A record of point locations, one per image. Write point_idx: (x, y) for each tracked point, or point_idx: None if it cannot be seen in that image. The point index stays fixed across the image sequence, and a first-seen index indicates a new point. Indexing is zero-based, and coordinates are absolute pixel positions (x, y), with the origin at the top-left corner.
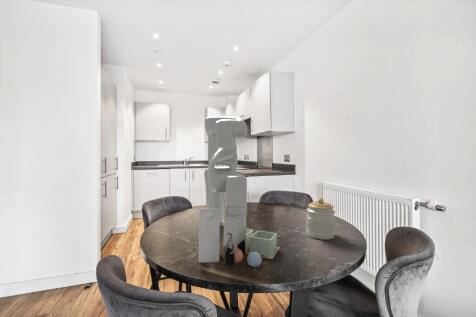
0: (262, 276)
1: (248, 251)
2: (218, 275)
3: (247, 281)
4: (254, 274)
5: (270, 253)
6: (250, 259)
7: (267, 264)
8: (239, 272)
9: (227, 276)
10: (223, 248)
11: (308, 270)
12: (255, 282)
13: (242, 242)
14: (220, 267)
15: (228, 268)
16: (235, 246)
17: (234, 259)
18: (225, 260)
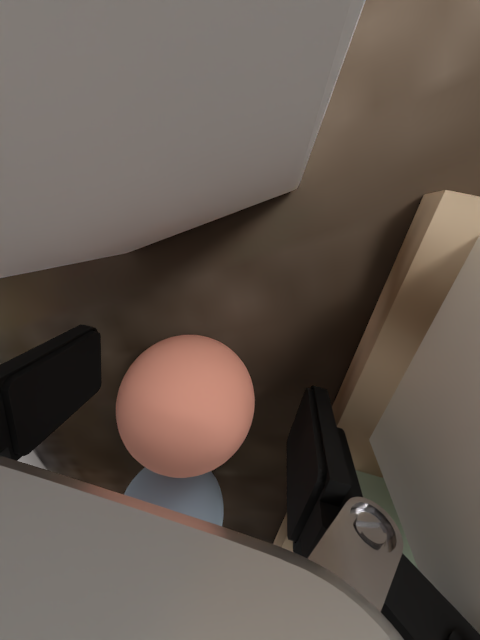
0: (118, 492)
1: (374, 459)
2: (15, 288)
3: (49, 438)
4: (119, 464)
5: None
6: None
7: (241, 522)
8: (103, 399)
9: (35, 343)
10: (455, 193)
11: None
12: (60, 466)
13: (305, 547)
14: (105, 271)
15: (117, 331)
16: (437, 367)
17: (64, 417)
18: (62, 334)
